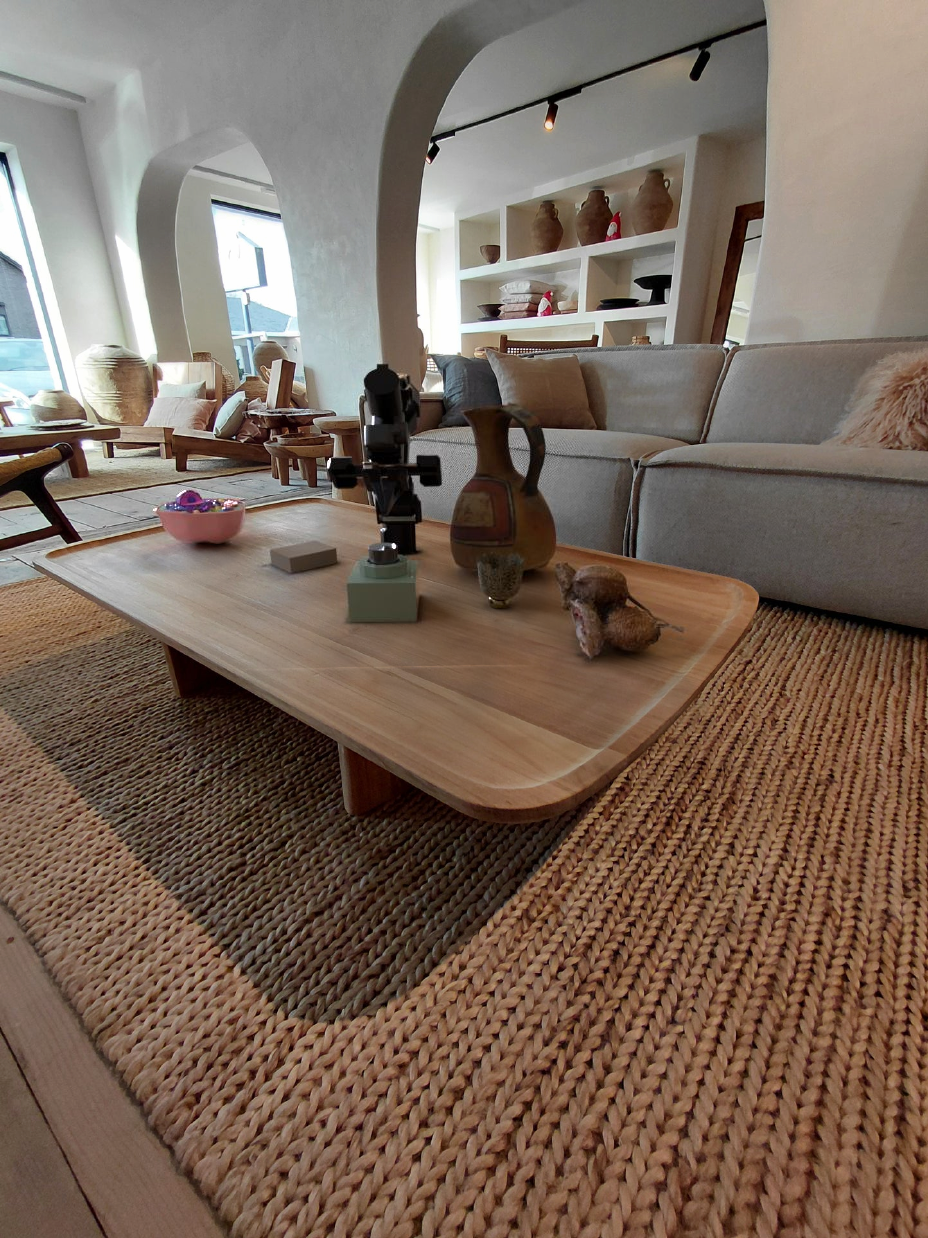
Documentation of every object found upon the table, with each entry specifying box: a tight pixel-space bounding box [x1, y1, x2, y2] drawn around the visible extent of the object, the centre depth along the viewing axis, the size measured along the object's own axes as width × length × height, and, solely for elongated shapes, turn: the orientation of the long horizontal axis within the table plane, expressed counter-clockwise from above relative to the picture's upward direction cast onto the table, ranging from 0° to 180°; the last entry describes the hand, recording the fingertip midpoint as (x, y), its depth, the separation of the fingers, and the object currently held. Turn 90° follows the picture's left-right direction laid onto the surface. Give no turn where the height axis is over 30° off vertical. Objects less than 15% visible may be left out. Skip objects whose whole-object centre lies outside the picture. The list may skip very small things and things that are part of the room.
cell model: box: [153, 489, 247, 545], centre depth 125 cm, size 17×20×11 cm
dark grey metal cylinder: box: [367, 542, 398, 565], centre depth 88 cm, size 4×4×3 cm
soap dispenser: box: [346, 554, 420, 623], centre depth 90 cm, size 11×10×8 cm
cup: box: [477, 551, 525, 610], centre depth 91 cm, size 8×7×8 cm
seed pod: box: [554, 562, 685, 661], centre depth 78 cm, size 13×16×15 cm
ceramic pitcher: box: [449, 402, 557, 572], centre depth 104 cm, size 20×20×30 cm
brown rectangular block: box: [269, 540, 338, 574], centre depth 113 cm, size 10×8×3 cm
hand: (384, 514), depth 94 cm, fingers closed
